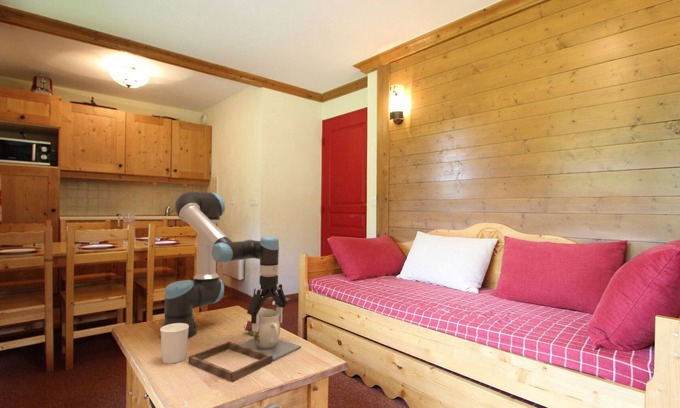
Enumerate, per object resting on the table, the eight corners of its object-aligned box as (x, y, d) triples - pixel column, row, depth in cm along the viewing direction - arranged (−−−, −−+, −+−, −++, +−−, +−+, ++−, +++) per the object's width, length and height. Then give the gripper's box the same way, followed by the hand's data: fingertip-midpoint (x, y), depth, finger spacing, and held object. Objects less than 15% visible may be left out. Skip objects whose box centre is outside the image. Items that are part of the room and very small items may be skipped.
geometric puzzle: (258, 324, 169) (249, 313, 166) (266, 328, 164) (257, 316, 161) (247, 336, 165) (238, 325, 162) (255, 340, 160) (246, 329, 157)
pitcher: (263, 356, 136) (264, 320, 136) (246, 342, 150) (246, 309, 150) (289, 350, 142) (290, 315, 142) (270, 337, 157) (270, 305, 157)
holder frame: (188, 363, 131) (188, 356, 131) (229, 347, 146) (229, 341, 146) (232, 381, 117) (232, 374, 118) (272, 362, 133) (272, 355, 133)
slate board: (234, 348, 146) (234, 346, 146) (263, 336, 159) (263, 335, 159) (273, 361, 134) (273, 359, 134) (301, 348, 147) (301, 346, 147)
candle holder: (159, 366, 128) (160, 333, 128) (159, 356, 137) (160, 325, 137) (189, 361, 133) (189, 329, 133) (187, 352, 141) (187, 321, 142)
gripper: (252, 280, 134) (250, 337, 134) (295, 271, 155) (294, 320, 155) (238, 278, 139) (237, 333, 138) (283, 269, 159) (281, 317, 159)
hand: (267, 326), depth 147 cm, fingers open, 13 cm apart
